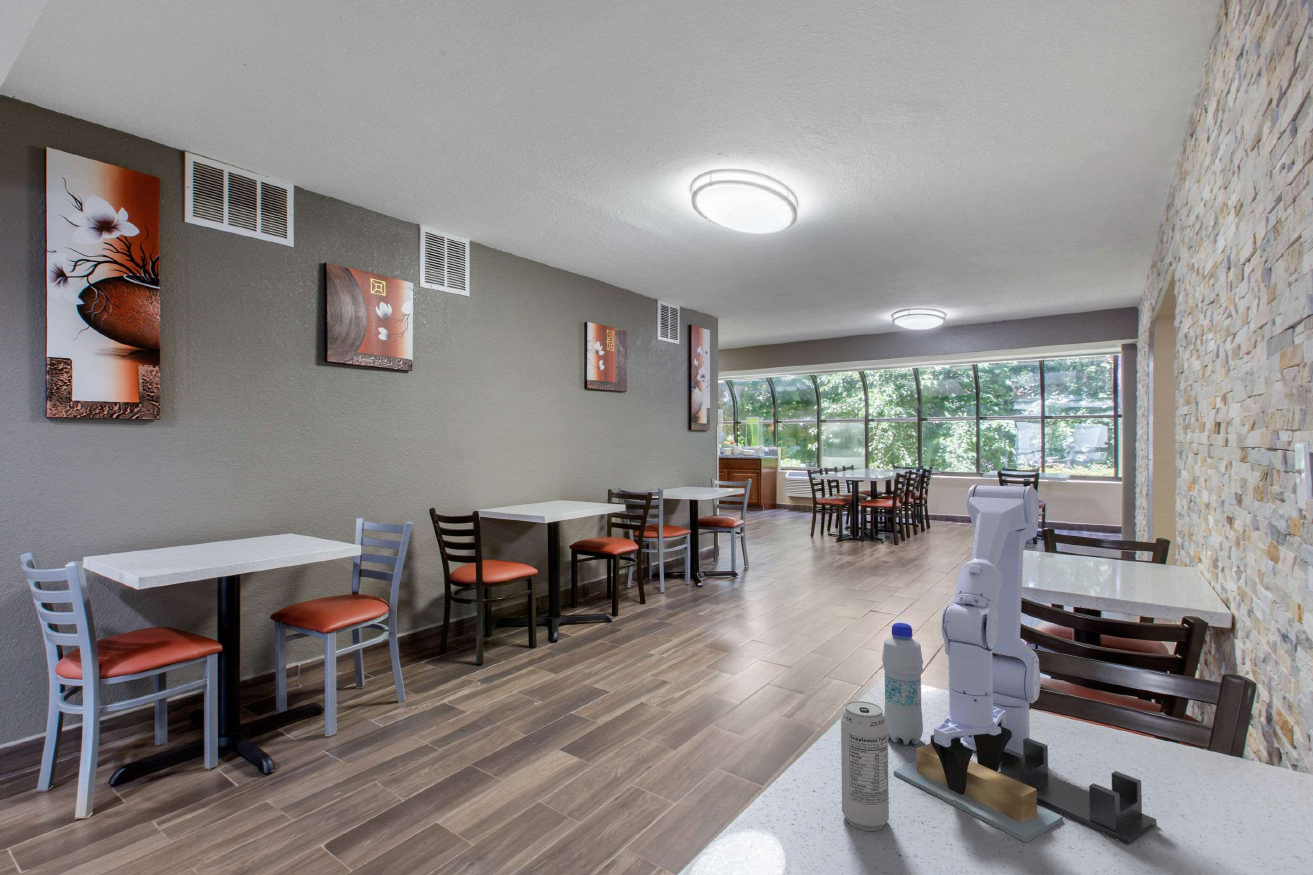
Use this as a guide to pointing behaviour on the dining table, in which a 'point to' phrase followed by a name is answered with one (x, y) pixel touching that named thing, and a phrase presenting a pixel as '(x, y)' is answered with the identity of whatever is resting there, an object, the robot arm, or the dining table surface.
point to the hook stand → (1081, 795)
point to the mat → (982, 807)
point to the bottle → (903, 685)
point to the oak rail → (985, 786)
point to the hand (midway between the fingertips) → (972, 783)
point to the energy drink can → (864, 766)
